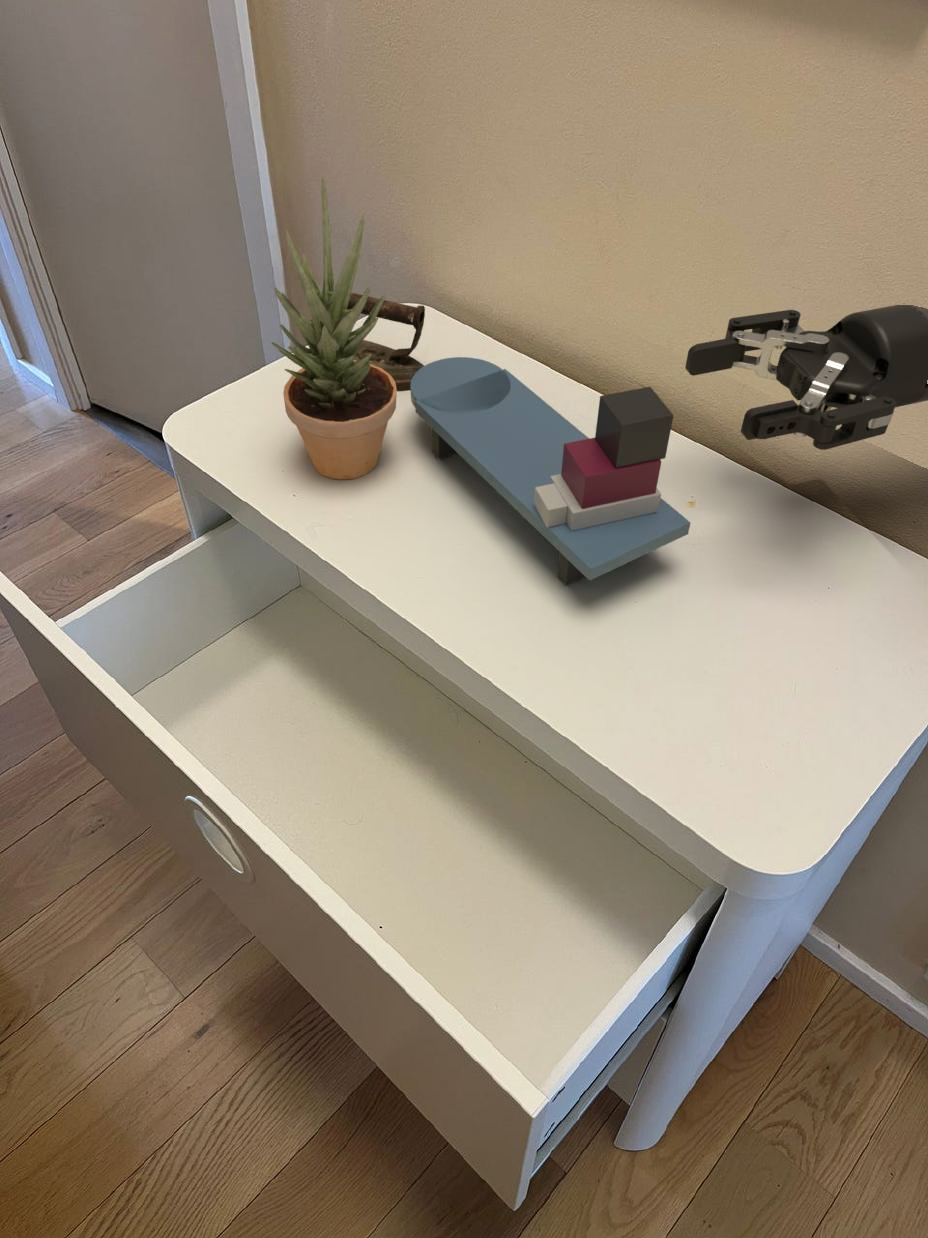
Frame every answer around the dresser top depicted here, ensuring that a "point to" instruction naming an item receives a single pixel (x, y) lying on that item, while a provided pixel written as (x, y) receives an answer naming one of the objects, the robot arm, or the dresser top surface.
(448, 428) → the ironing board
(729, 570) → the dresser top surface
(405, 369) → the clothes iron
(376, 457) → the potted plant
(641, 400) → the stacked block tower
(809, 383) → the robot arm
